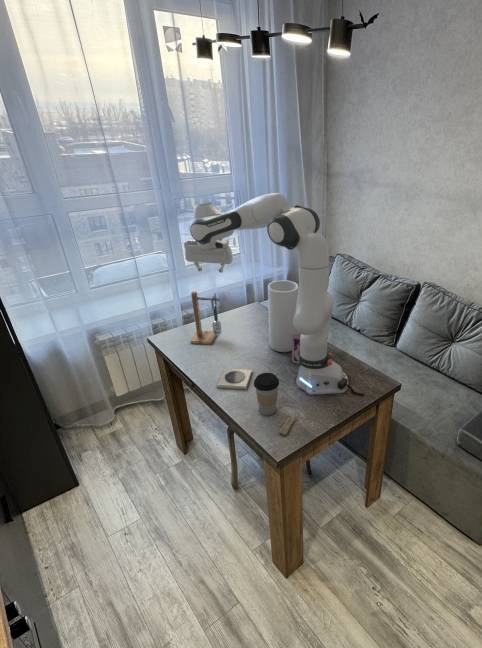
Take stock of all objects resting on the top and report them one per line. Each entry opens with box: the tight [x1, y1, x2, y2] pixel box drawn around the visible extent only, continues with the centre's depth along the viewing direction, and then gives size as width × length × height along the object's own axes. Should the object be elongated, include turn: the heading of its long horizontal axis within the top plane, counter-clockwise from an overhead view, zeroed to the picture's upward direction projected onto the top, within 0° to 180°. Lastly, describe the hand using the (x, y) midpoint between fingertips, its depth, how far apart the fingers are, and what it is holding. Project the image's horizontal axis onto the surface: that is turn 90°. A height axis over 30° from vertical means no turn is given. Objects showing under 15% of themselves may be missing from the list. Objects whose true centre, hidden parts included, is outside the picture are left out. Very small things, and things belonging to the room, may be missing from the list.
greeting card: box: [291, 333, 301, 365], centre depth 179 cm, size 11×7×15 cm, turn 66°
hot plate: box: [216, 368, 253, 390], centre depth 169 cm, size 12×12×2 cm
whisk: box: [210, 292, 223, 337], centre depth 190 cm, size 4×6×21 cm
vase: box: [267, 279, 300, 353], centre depth 187 cm, size 14×14×32 cm
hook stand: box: [190, 291, 222, 345], centre depth 191 cm, size 15×10×25 cm, turn 88°
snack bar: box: [278, 416, 297, 436], centre depth 146 cm, size 10×2×3 cm
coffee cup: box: [253, 372, 280, 416], centre depth 150 cm, size 9×9×15 cm
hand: (210, 271), depth 178 cm, fingers open, 8 cm apart
